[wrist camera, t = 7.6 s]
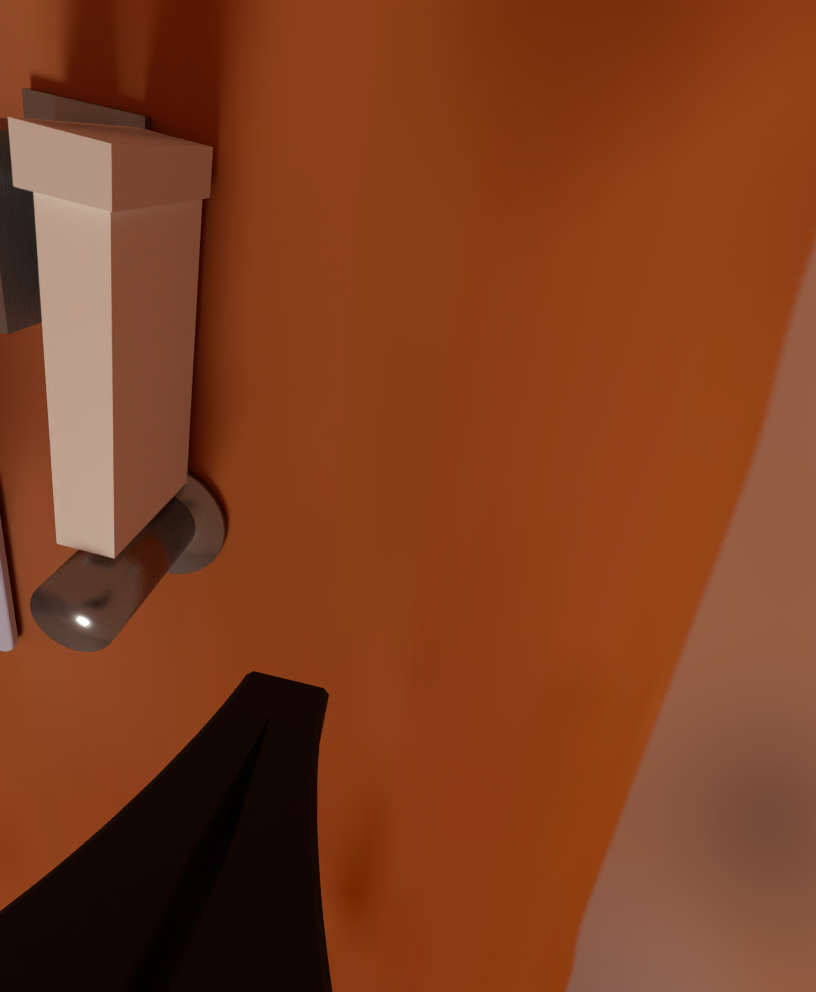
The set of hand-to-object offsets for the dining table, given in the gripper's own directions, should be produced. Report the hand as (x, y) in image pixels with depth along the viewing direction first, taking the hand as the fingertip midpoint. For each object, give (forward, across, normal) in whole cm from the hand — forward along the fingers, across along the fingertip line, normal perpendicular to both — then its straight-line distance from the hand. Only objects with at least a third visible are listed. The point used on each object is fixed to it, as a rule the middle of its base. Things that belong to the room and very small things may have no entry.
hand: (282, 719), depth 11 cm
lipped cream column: (+10, +7, -3) cm, 13 cm away
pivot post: (+10, +7, +4) cm, 13 cm away
